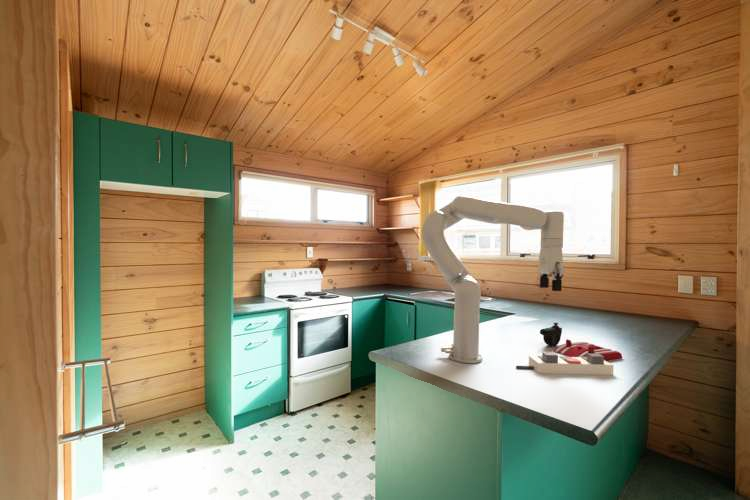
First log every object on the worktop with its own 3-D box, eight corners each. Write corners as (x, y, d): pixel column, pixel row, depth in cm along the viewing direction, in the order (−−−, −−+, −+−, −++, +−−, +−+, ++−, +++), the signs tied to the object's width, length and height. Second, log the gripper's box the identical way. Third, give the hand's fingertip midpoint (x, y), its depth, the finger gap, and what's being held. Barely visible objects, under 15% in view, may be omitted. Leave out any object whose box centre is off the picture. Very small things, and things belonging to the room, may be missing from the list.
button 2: (569, 370, 125) (569, 361, 125) (564, 366, 128) (564, 358, 128) (580, 370, 125) (580, 361, 125) (575, 367, 128) (575, 358, 128)
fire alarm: (552, 339, 151) (586, 335, 159) (552, 352, 151) (585, 348, 159) (588, 349, 136) (623, 345, 144) (587, 365, 136) (622, 359, 144)
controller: (563, 345, 161) (564, 323, 161) (547, 349, 154) (547, 326, 154) (554, 343, 165) (554, 321, 164) (537, 346, 158) (538, 324, 158)
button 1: (546, 364, 125) (546, 355, 125) (542, 361, 129) (542, 352, 128) (557, 364, 125) (558, 355, 125) (553, 361, 128) (553, 352, 128)
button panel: (520, 372, 125) (521, 361, 125) (512, 364, 133) (512, 354, 133) (613, 375, 124) (613, 364, 124) (599, 367, 132) (599, 356, 132)
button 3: (592, 365, 125) (592, 356, 125) (586, 362, 128) (587, 353, 128) (603, 365, 125) (604, 356, 125) (598, 362, 128) (598, 353, 128)
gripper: (531, 243, 143) (530, 286, 143) (552, 243, 125) (551, 292, 126) (550, 244, 143) (549, 286, 143) (574, 244, 125) (572, 292, 126)
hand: (550, 289), depth 134 cm, fingers open, 9 cm apart
